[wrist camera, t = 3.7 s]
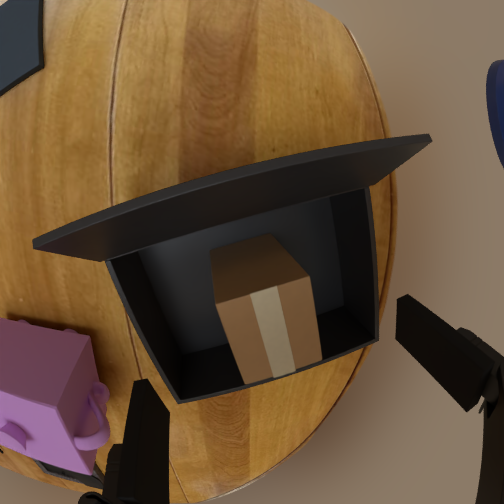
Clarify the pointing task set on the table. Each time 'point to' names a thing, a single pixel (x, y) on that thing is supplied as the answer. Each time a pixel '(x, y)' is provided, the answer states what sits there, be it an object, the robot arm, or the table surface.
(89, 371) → the teapot
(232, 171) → the flap
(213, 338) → the carton
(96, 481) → the picture frame
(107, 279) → the table surface
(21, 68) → the mat
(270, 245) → the parcel
